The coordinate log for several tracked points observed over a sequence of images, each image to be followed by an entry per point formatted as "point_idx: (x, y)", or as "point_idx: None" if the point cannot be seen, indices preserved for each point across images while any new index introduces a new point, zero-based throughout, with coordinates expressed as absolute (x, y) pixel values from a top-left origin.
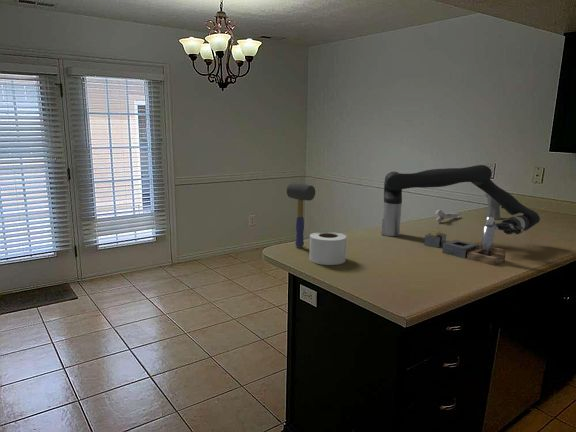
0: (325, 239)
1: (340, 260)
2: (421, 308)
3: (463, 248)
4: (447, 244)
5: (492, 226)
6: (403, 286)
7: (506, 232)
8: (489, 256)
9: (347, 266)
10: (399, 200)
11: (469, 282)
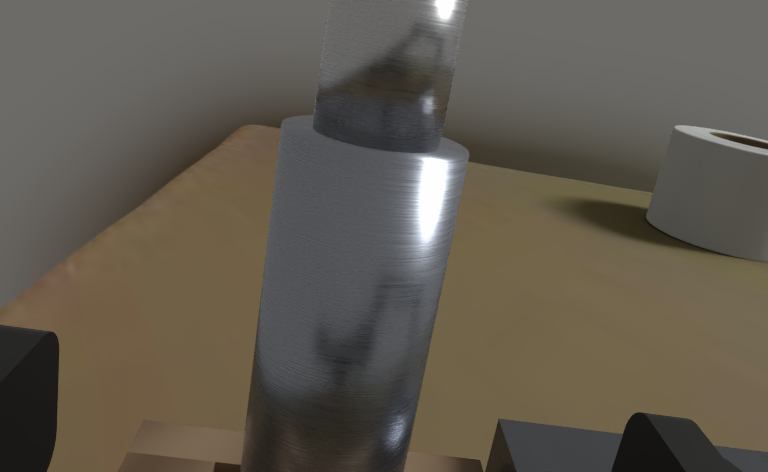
0: (689, 126)
1: (654, 211)
2: (241, 136)
3: (529, 426)
4: (729, 449)
5: (315, 114)
6: None
7: (47, 410)
8: (218, 453)
9: (618, 221)
10: None
11: (198, 232)
